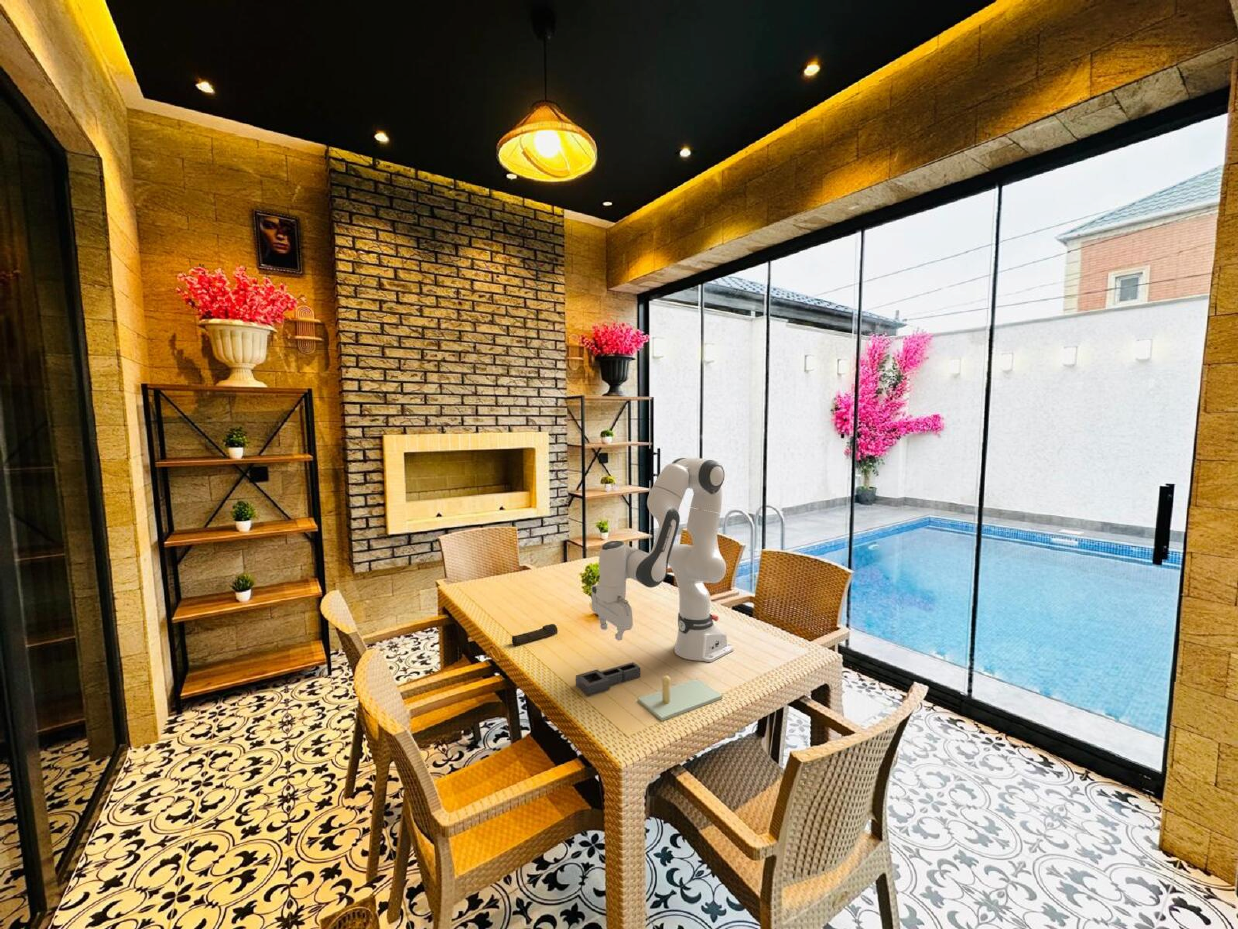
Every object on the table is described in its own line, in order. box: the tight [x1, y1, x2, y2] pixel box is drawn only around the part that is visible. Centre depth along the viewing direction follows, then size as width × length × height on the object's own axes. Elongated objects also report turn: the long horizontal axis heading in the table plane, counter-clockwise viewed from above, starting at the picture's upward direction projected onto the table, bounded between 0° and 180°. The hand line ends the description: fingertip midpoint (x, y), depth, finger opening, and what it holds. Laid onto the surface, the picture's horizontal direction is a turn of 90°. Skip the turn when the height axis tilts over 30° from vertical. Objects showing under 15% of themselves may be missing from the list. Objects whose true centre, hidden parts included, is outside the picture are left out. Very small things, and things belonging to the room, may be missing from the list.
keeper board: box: [637, 675, 723, 722], centre depth 151 cm, size 23×12×9 cm, turn 121°
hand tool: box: [511, 623, 559, 647], centre depth 193 cm, size 19×4×5 cm, turn 124°
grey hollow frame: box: [575, 661, 641, 697], centre depth 161 cm, size 21×8×3 cm, turn 122°
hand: (611, 634), depth 160 cm, fingers open, 8 cm apart
